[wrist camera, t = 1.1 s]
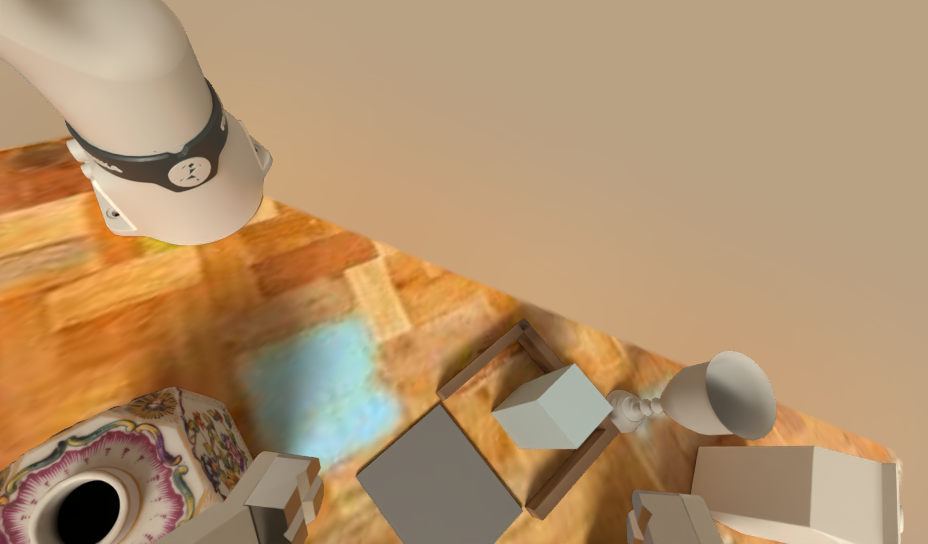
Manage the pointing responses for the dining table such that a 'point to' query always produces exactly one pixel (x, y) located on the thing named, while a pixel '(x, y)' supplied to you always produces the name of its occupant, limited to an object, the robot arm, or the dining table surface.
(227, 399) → the dining table surface
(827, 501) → the milk carton
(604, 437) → the wooden rectangular frame
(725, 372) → the chalice
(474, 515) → the dark grey flat plate
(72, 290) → the dining table surface
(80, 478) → the decorative jar
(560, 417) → the block
